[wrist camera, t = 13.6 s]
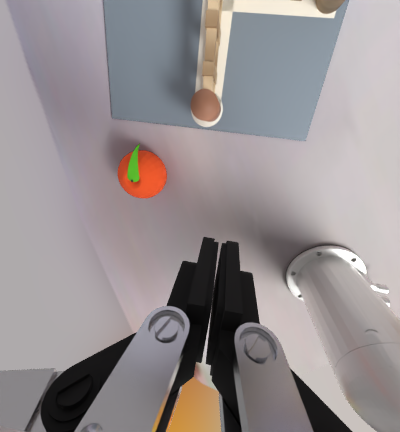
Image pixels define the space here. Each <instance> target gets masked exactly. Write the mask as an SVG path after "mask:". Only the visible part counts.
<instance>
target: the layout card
mask: <svg viewBox="0 0 400 432" xmlns="http://www.w3.org/2000/svg"><path fill="white" fill-rule="evenodd" d="M103 1H104V14H105V28H106V42H107V55H108V69H109V82H110V96H111V109H112V118H114V119H123V120H131V121H140V122H148V123H156V124H165V125H173V126H182V127H190V128H198V129H207V130H215V131H224V132H232V133H240V134H249V135H257V136H266V137H274V138H283V139H291V140H299V141H306V138H307V134H308V131H309V128H310V125H311V121H312V118H313V115H314V112H315V109H316V105H317V102H318V99H319V96H320V92H321V89H322V86H323V83H324V80H325V76H326V73H327V70H328V67H329V64H330V60H331V57H332V54H333V51H334V47H335V44H336V41H337V38H338V35H339V31H340V28H341V25H342V22H343V18H344V15H345V12H346V9H347V6H348V2H349V0H345V1H344V3H343V4H342V5H341V6H340V7H339V8H338V9H337V10H336V11H334V12H332V13H330V14H323V13H321V12H320V11H319V10H318V9H317V6H316V0H302V1H294V0H223V3H222V15H221V27H220V29H221V37H220V45H219V51H218V62H217V83H216V86H215V95H216V97H217V99H218V101H219V103H220V106H221V112H220V115H219V117H218V118H217V119H216V120H215V121H212V122H207V121H203V120H199V119H197V118H196V117H195V116H194V115H193V113H192V111H191V99H192V97H193V95H194V94H195V93H196V92H197V91H198V90H200V89H203V76H202V69H203V61H204V60H205V44H206V28H205V18H206V10H208V0H103Z"/></svg>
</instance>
